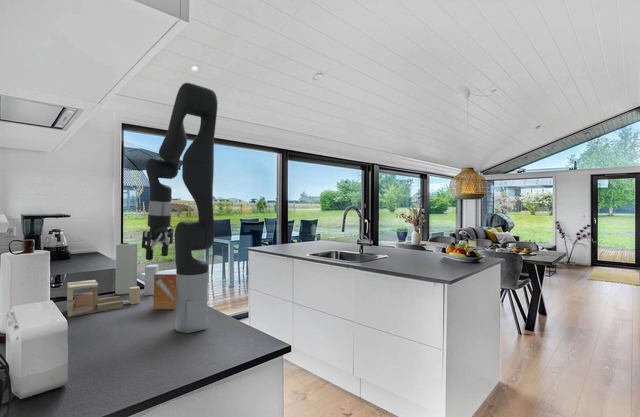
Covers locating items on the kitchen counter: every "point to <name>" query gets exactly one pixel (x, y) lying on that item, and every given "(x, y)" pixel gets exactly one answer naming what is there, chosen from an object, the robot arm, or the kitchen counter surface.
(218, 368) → the kitchen counter surface
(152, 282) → the skincare box
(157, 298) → the small box
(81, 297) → the tethered block
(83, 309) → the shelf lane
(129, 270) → the tall grey box
